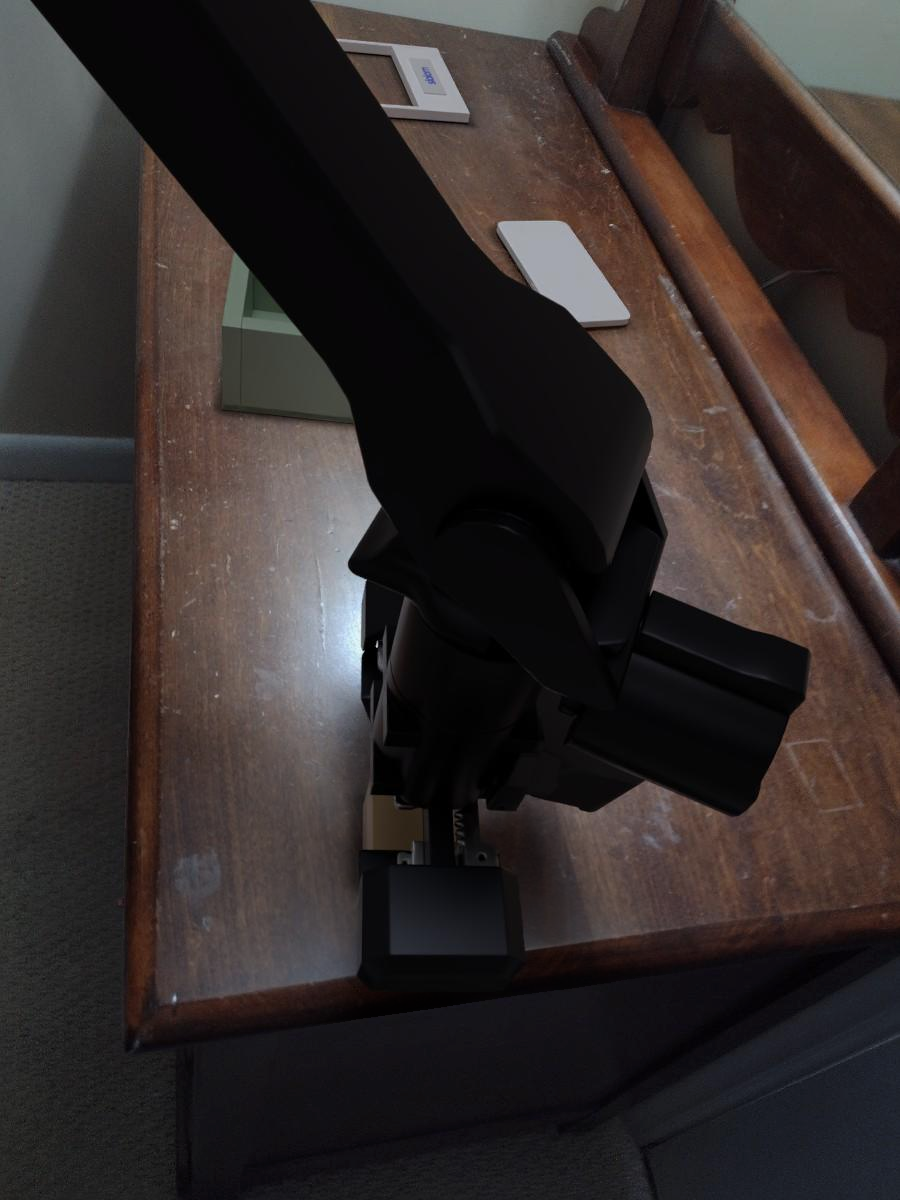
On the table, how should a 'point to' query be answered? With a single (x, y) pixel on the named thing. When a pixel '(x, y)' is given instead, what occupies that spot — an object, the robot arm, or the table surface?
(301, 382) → the storage box
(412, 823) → the maple block
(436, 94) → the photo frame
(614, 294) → the smartphone
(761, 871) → the table surface
